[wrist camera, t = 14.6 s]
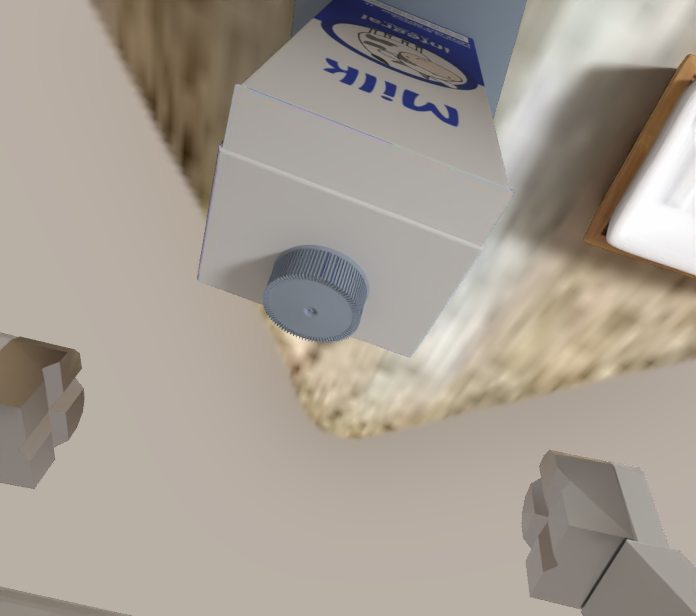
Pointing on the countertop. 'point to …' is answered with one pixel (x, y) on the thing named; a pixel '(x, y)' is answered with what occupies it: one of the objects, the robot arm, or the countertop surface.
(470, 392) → the countertop surface
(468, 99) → the milk carton
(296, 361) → the countertop surface
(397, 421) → the countertop surface
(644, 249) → the soap dish
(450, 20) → the mat
